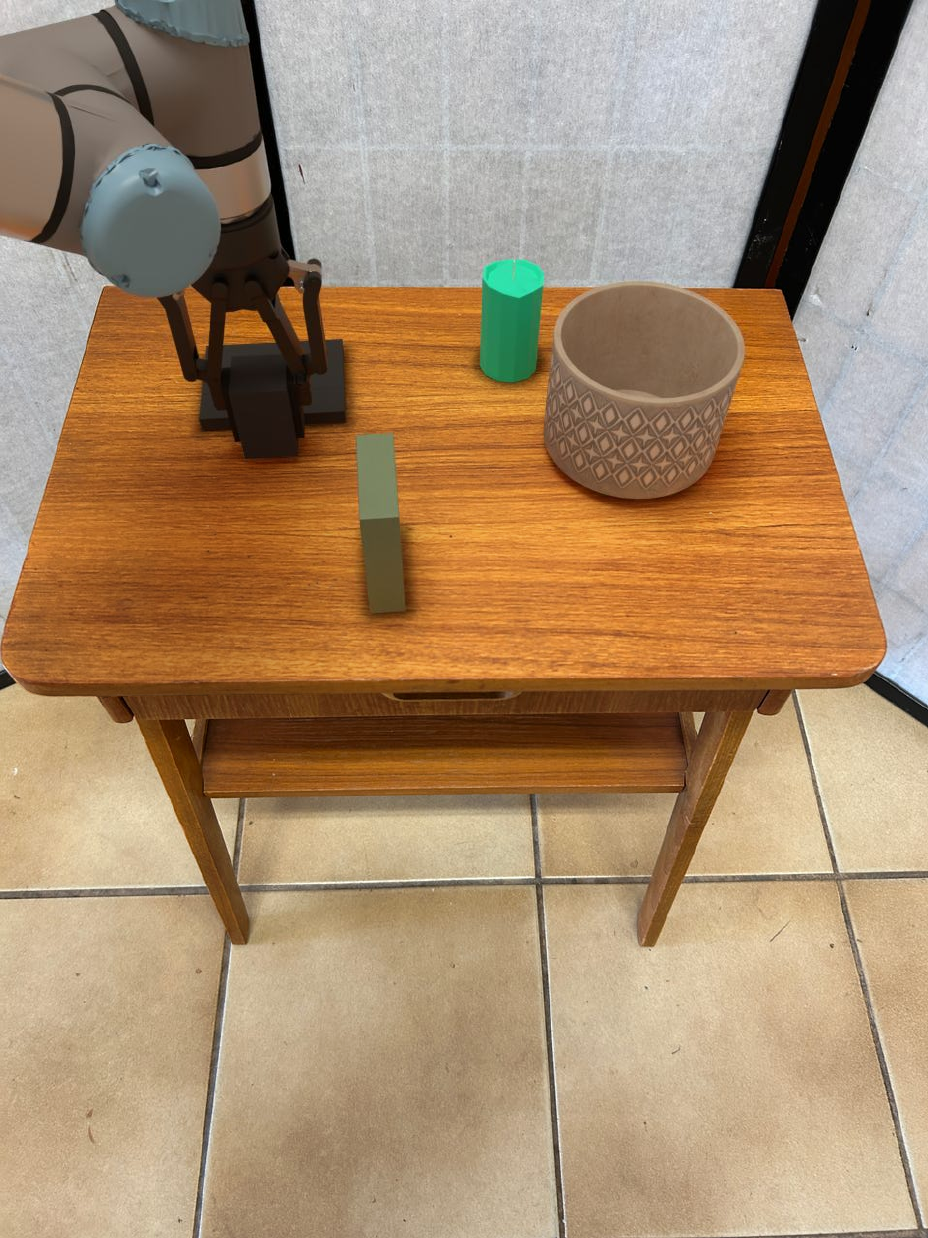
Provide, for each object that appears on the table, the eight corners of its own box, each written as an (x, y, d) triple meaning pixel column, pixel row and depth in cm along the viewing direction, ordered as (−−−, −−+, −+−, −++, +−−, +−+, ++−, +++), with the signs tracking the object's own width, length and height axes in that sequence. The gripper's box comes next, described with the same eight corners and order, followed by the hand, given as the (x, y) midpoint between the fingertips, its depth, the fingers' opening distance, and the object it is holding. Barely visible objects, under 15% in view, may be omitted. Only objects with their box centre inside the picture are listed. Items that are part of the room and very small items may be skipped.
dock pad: (202, 430, 93) (198, 419, 92) (209, 357, 99) (206, 345, 98) (346, 422, 94) (344, 410, 92) (343, 350, 100) (342, 338, 99)
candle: (470, 373, 98) (472, 271, 88) (491, 339, 101) (496, 236, 92) (525, 388, 97) (533, 286, 87) (544, 353, 100) (555, 251, 90)
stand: (370, 614, 80) (359, 519, 70) (366, 533, 85) (355, 434, 76) (405, 611, 80) (399, 516, 71) (399, 531, 86) (393, 432, 76)
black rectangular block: (244, 459, 89) (228, 393, 82) (247, 401, 94) (232, 334, 87) (298, 456, 89) (286, 390, 83) (298, 398, 94) (287, 331, 87)
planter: (561, 517, 87) (576, 411, 76) (527, 396, 96) (537, 288, 86) (734, 499, 88) (772, 393, 78) (684, 382, 98) (712, 273, 87)
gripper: (342, 165, 73) (364, 397, 92) (103, 175, 72) (176, 408, 91) (344, 220, 69) (367, 452, 88) (90, 232, 68) (169, 464, 87)
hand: (270, 429), depth 90 cm, fingers closed on black rectangular block, 5 cm apart
